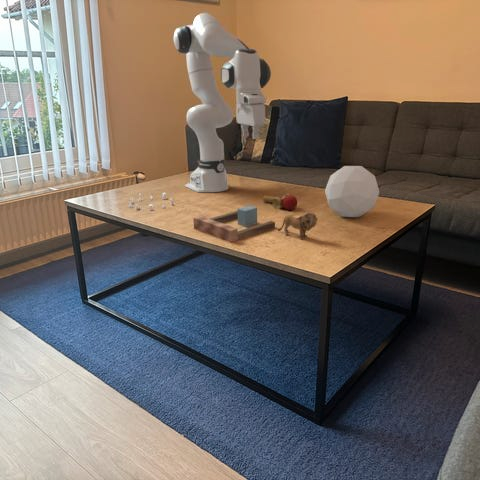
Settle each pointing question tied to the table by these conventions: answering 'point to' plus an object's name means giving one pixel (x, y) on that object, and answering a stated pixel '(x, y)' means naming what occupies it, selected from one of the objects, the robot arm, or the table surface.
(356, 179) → the geometric polyhedron
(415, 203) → the table surface
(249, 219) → the block
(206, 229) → the stop channel
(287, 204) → the kendama
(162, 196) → the game piece set
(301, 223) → the lion figurine
